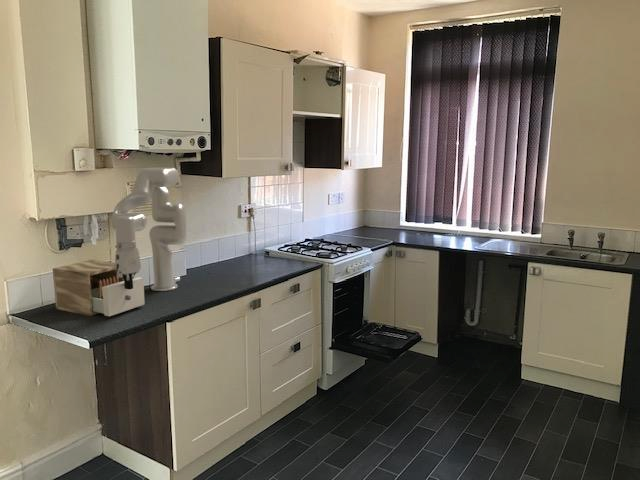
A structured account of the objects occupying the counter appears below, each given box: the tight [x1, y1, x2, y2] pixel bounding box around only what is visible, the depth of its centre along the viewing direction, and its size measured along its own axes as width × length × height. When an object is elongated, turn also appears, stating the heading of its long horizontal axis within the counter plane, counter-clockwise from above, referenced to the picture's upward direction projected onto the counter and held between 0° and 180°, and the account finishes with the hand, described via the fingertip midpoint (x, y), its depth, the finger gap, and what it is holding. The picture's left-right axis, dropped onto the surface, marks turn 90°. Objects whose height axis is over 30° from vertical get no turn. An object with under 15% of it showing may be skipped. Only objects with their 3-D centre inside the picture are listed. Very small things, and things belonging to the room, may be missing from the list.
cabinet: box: [52, 259, 124, 317], centre depth 238 cm, size 20×22×18 cm
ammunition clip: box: [99, 276, 119, 299], centre depth 233 cm, size 11×2×12 cm, turn 152°
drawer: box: [91, 276, 146, 317], centre depth 233 cm, size 19×24×12 cm
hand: (129, 288), depth 227 cm, fingers closed
